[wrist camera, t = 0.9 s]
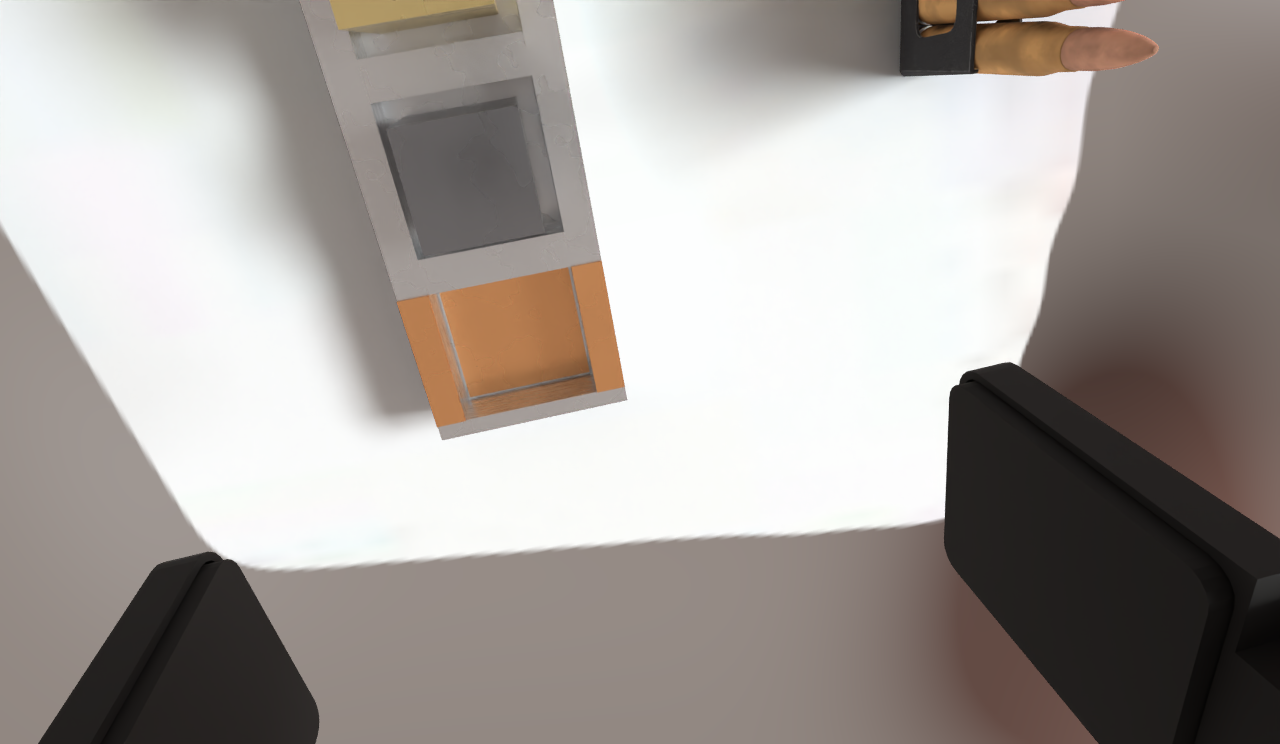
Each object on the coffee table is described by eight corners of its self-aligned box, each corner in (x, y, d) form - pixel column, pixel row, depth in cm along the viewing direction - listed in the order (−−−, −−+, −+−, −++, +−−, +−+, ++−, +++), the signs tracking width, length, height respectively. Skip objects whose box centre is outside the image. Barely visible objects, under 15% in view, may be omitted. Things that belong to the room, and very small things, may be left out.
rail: (275, -142, 23) (244, -167, 21) (514, -176, 24) (515, -205, 21) (447, 407, 33) (442, 441, 30) (617, 371, 33) (627, 401, 31)
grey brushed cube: (404, 116, 26) (385, 129, 22) (516, 96, 27) (517, 105, 23) (435, 226, 28) (423, 256, 24) (540, 206, 29) (545, 233, 25)
